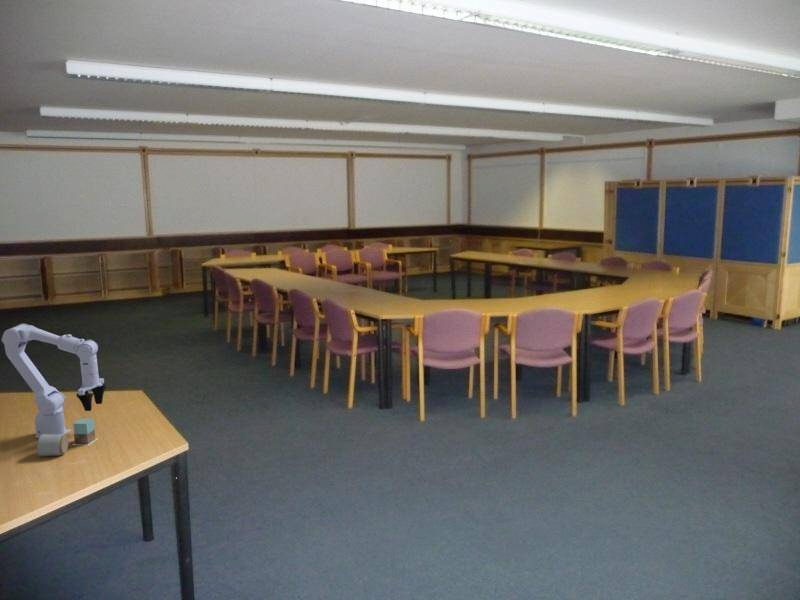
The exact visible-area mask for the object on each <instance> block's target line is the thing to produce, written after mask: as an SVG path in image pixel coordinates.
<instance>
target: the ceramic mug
mask: <svg viewBox="0 0 800 600" xmlns="http://www.w3.org/2000/svg"><path fill="white" fill-rule="evenodd" d="M68 448H69V437H68V436H67V435H66V434H64V435H54V434H42V435H41V436H40V437H39V438H37V444H36V449H37V455H38V456H39V457H42V458H43V457H56V456H59V457H60V456H63V455H65V454H66V453H67V452H68Z"/></svg>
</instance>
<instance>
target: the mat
mask: <svg viewBox="0 0 800 600" xmlns="http://www.w3.org/2000/svg"><path fill="white" fill-rule="evenodd" d="M98 439H99V437H97V438H96V437H95V440H93V441H92V442H91V443H89V444H75V442H74V443H73V444H71V445H72V446H90V445H92V444H93V443H94V442H96V441H97V440H98Z"/></svg>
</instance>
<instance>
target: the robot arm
mask: <svg viewBox="0 0 800 600" xmlns="http://www.w3.org/2000/svg"><path fill="white" fill-rule="evenodd" d="M2 334H3V335H2V336H1V337H2V338H1V342H2V343H3V345H4V351H5V355H6V357H7V358H8V359H9V361H10V363H12V365H13V366H14V368H15V369H16V370H17V372H18V373H19V374H20V376H21V377H22V379H23V380H24V381H25V382H26V384H27V385H28V387H29V388H30V389H31V391H32V392H33V394H34V402H35V404H36V406H37V410H38V411H39V412H37V413H36V415H35V418H34V425H35V434H36V435H35V438H37V439H39V437H40V436H41V435H42V434H54V435H66V434H68V432H70V431H71V429H70V428H66V423H65V421H66V420H65V413H64V407H63V406H64V405H65V403H66V396H65V395H64V393H62V392H61V391H59V390H58V389H57V388H56V387H54V386H52V385H49V383H48V382H47V380H45V378H44V376H43V375H42V373H40V371H39V370H38V368H37V367H36V365H35V364H34V363H33V362H32V360H31V359H30V358H29V356H28V354H27V353H26V352H25V350H26V346H27V344H28V342H29V341H33V340H34V341H39V342H43V343H48V344H52V345H54V346H57V348H58V349H59V350H62V351H65V352H68V353H71V354H74V355H76V356H77V357H78V358H79V364H80V373H81V381H82V382H81V383H82V384H81V386H80V388H79V389H77V393H76V398H78V399H79V401H80V403H81V404H82V407H83V409H84V412H91V411H92V407H93V405H92V400H93V399H94V402H95V405H102V403H103V399H104V398H103V397H104V393H105V391H106V388H107V384H106V383H105V378H103V377H100V376H99V367H98V357H97V353H98V350H99V345H98V343H97V342H96V341H95V340H92V339H87V340H85V339H84V338H78V337H75V336H73V335H72V334H69V333H68V334H63V335H57V334H54V333H52V332H48V330H47V331H46V330H44V329H40V328H38V327H36V326H34V325H31V324H30V325H29V324H27V323H20V324H18V325H15V326H14V327H11V328H8V329H6V330H5V331H4V332H3V333H2ZM104 383H105V384H104ZM90 391H91V392H92V393H91V392H90Z"/></svg>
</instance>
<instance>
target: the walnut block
mask: <svg viewBox="0 0 800 600" xmlns="http://www.w3.org/2000/svg"><path fill="white" fill-rule="evenodd" d="M95 438H96V432H95V429H94V430H93V431H91V432H90V433H88V434H74V433H73V440H74V443H75V444H89V443H91V442H92V441H93V440H95Z"/></svg>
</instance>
